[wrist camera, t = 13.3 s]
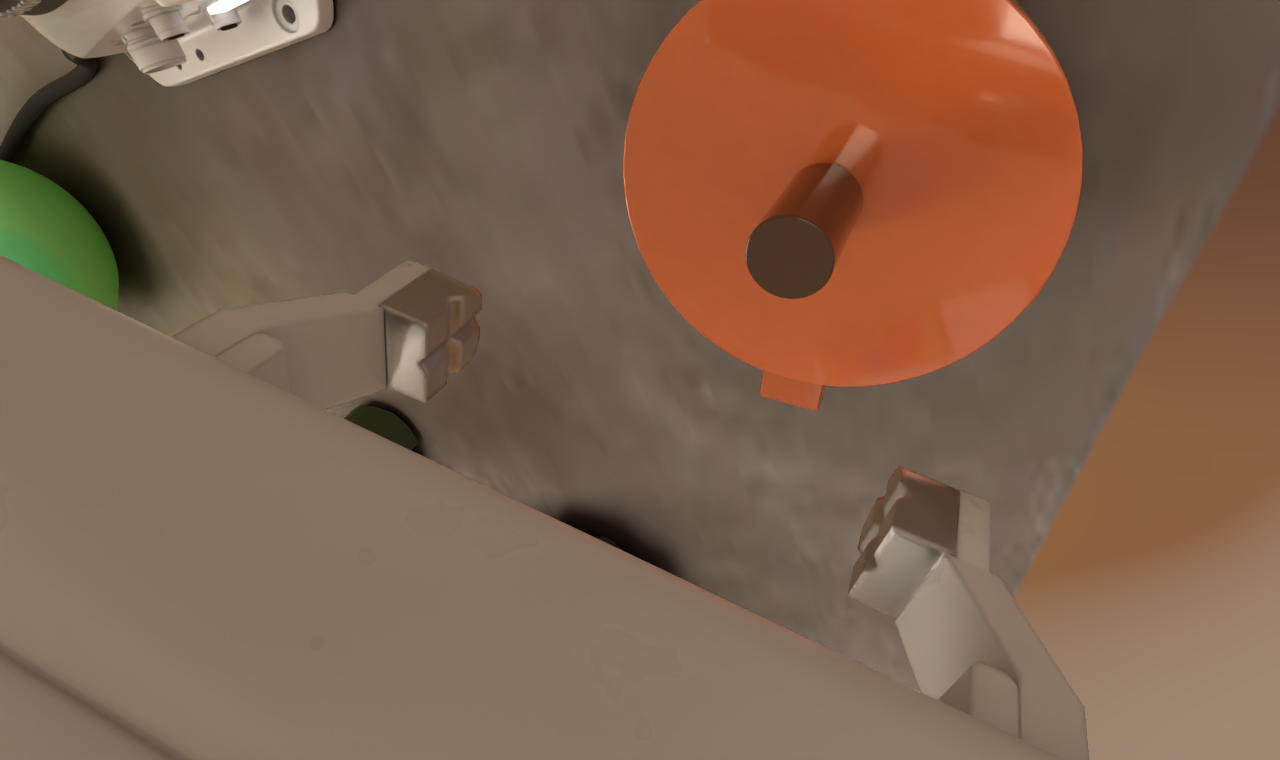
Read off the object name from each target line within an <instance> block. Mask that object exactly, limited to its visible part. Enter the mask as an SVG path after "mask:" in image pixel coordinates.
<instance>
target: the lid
mask: <svg viewBox="0 0 1280 760" xmlns="http://www.w3.org/2000/svg"><path fill="white" fill-rule="evenodd" d="M623 176H624V192H625V198H626V204H627V211H628V216H629V219H630V223H631V226H632V230H633V233H634V237H635V240H636V242H637V244H638V247H639V249H640V252H641V254H642V256H643V259H644V261H645V263H646V265H647V267H648V268H649V270H650V272H651V274H652V276H653V277H654V279H655V281H656V283H657V284H658V286H659V287H660V288H661V290H662V291H663V293H664V294H665V295H666V297H667V298H668V300H669V301H670V302H671V303H672V305H673V306H674V307H675V308H676V309H677V310H678V311H679V312H680V313H681V315H682V316H683V317H684V318H685V319H686V320H687V321H688V322H689V323H690V324H691V325H692V326H694V327H695V328H696V329H697V330H698V331H699V332H700V333H701V334H702V335H704V336H705V337H706V338H708V339H709V340H710V341H712V342H713V343H714V344H716V345H717V346H719V347H720V348H721V349H723V350H724V351H726V352H728V353H730V354H731V355H733V356H735V357H737V358H738V359H740V360H742V361H744V362H746V363H748V364H750V365H752V366H755V367H757V368H759V369H761V370H764V371H766V372H769V373H772V374H775V375H778V376H781V377H785V378H788V379H791V380H796V381H801V382H806V383H811V384H816V385H827V386H837V387H860V386H873V385H882V384H890V383H895V382H899V381H903V380H908V379H912V378H916V377H919V376H922V375H925V374H928V373H931V372H933V371H936V370H939V369H942V368H944V367H946V366H948V365H950V364H952V363H954V362H956V361H958V360H960V359H962V358H964V357H966V356H968V355H970V354H971V353H973V352H974V351H976V350H977V349H979V348H980V347H982V346H983V345H985V344H986V343H988V342H989V341H991V340H992V339H994V338H995V337H996V336H997V335H999V334H1000V333H1001V332H1002V331H1003V330H1004V329H1005V328H1007V327H1008V326H1009V325H1010V324H1011V323H1012V322H1014V321H1015V320H1016V319H1017V318H1018V317H1019V316H1020V314H1021V313H1022V312H1023V311H1024V310H1025V309H1026V308H1027V307H1028V305H1029V304H1030V303H1031V302H1032V301H1033V300H1034V299H1035V298H1036V296H1037V295H1038V293H1039V292H1040V290H1041V289H1042V288H1043V286H1044V285H1045V283H1046V282H1047V280H1048V279H1049V277H1050V276H1051V274H1052V273H1053V271H1054V269H1055V267H1056V265H1057V263H1058V261H1059V259H1060V257H1061V255H1062V253H1063V251H1064V249H1065V247H1066V245H1067V242H1068V239H1069V236H1070V233H1071V230H1072V227H1073V224H1074V221H1075V218H1076V215H1077V210H1078V204H1079V198H1080V193H1081V187H1082V177H1083V145H1082V138H1081V131H1080V124H1079V117H1078V112H1077V108H1076V105H1075V101H1074V98H1073V95H1072V92H1071V89H1070V85H1069V82H1068V79H1067V76H1066V74H1065V72H1064V70H1063V68H1062V66H1061V64H1060V62H1059V60H1058V58H1057V56H1056V54H1055V52H1054V50H1053V48H1052V46H1051V45H1050V44H1049V42H1048V41H1047V40H1046V38H1045V37H1044V35H1043V34H1042V33H1041V31H1040V30H1039V29H1038V27H1037V26H1036V24H1035V23H1034V22H1033V20H1032V19H1031V18H1030V17H1029V16H1028V15H1027V14H1026V13H1025V12H1024V11H1023V10H1022V9H1021V8H1020V7H1019V6H1018V5H1017V4H1016V3H1015V2H1014V1H1013V0H700V1H699V2H698V3H697V4H696V5H695V6H693V7H692V8H691V9H690V10H689V11H688V12H687V13H686V14H685V15H684V17H683V18H682V19H681V20H680V21H679V22H678V23H677V25H676V26H675V27H674V28H673V29H672V30H671V31H670V33H669V34H668V35H667V37H666V38H665V40H664V41H663V43H662V44H661V46H660V47H659V49H658V50H657V52H656V53H655V55H654V56H653V58H652V60H651V62H650V64H649V66H648V68H647V70H646V72H645V74H644V76H643V78H642V80H641V82H640V84H639V87H638V90H637V93H636V96H635V99H634V102H633V105H632V108H631V111H630V116H629V120H628V125H627V130H626V135H625V145H624V157H623Z"/></svg>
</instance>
